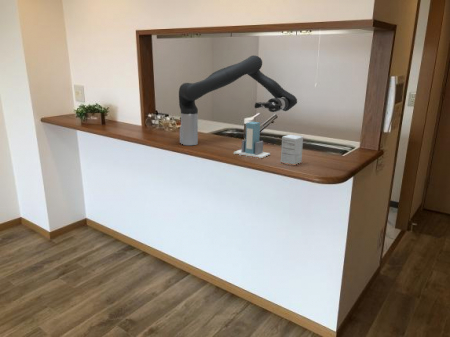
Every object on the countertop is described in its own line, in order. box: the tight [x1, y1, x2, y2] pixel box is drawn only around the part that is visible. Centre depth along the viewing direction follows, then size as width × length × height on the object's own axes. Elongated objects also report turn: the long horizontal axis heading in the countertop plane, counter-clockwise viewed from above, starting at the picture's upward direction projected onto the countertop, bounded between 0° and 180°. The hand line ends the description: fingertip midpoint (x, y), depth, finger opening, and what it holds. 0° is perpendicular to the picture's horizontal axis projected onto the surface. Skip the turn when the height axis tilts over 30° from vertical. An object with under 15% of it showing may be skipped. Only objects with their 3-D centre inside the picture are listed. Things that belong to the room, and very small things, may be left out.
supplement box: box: [280, 134, 304, 165], centre depth 171 cm, size 7×7×13 cm
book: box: [245, 121, 261, 154], centre depth 183 cm, size 4×6×15 cm
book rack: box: [233, 138, 271, 158], centre depth 184 cm, size 16×9×7 cm, turn 57°
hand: (262, 106), depth 195 cm, fingers open, 8 cm apart
